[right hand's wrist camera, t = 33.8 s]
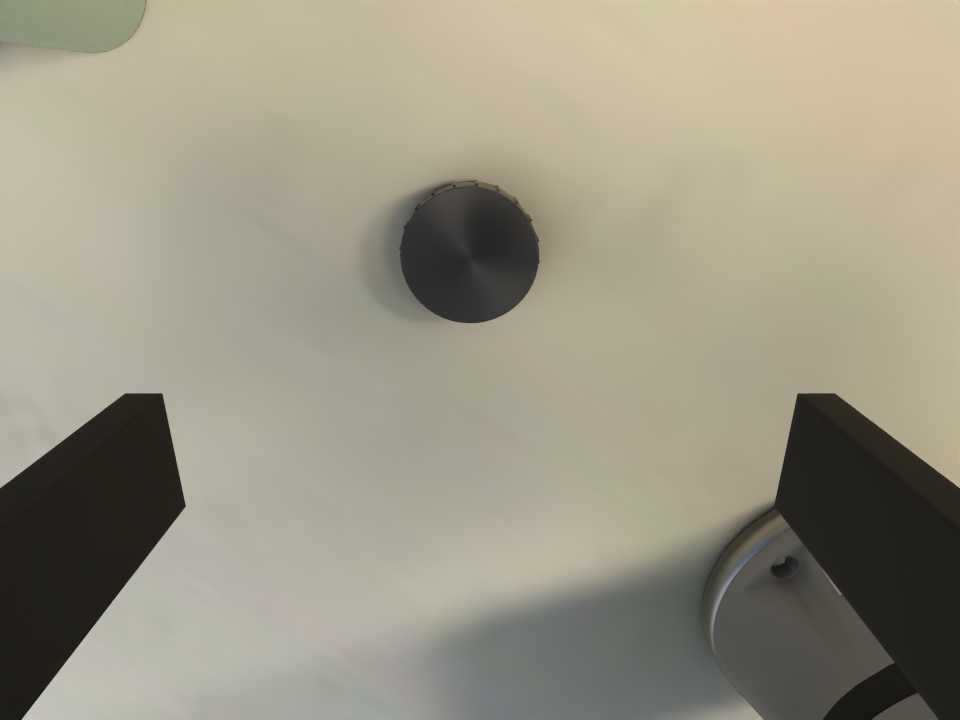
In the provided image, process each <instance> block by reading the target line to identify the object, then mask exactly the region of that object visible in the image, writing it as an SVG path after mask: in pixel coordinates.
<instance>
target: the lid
mask: <svg viewBox="0 0 960 720" xmlns="http://www.w3.org/2000/svg"><path fill="white" fill-rule="evenodd" d="M531 221H532V219H531V217H530V216H529V214H528V215H527V214H526V213H525V211H524V209H523V208H522V207H521V206H520V204H519V203H518V200H517V199H516V198H513V197H511V196H510V195H509V194H507V193H506V192H504V191H503V190H501V189H500V188H499V186H496V187H494V186H492V185H489V184H485V183H480V182H478V180H475V182H460V183H456V181H454V182H453V184H451V185H448V186H445V187H443V188H441V189H439V190H437V191H436V189H435V190H433V192H432V194H431V195H429V196H428V197H427V198H426V199H425V200H424V201H423V202H422V203H421V204H419V203H418V204H417V206H416V208H415V212H414V213H413V215H412V217H411V219H410V220H409V222H408V221H407V223H406V225H405V226H404V229H405V231H404V235H403V238H402V243H401V246H400V250H401V253H400V258H401V266H402V271H403V275H404V277H405V280H406V283H407V284H408V286H409V288H410V290H411V292H412V293H413V294H414V296H415V297H416V298H417V299H418V300H419V302H420V303H421V304H422V305H424V306H425V307H426V308H427V309H428V310H430V311H431V312H433V313H435V314H436V315H438V316H440V317H442V318H445V319H448V320H451V321H455V322H461V323H479V322H485V321H489V320H492V319H495V318H497V317H500V316H502V315H504V314H505V313H507V312H509V311H510V310H511V309H513V308H514V307H515V306H516V305H517V304H518V303H519V302H520V301H521V300H522V299H523V298H524V297H525V295H526V294H527V293H528V291H529V289H530V288H531V286H532V284H533V281H534V279H535V276H536V273H537V269H538V263H539V248H538V242H539V239H538V237H537V235H536V234H535V231H534V229H533V226H532V224H531Z"/></svg>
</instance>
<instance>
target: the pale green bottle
mask: <svg viewBox="0 0 960 720" xmlns="http://www.w3.org/2000/svg"><path fill="white" fill-rule="evenodd" d="M145 2H146V0H0V41H3V42H11V43H18V44H26V45H33V46H41V47H48V48H56V49H63V50H71V51H78V52H86V53H100V52H106V51H109V50H112V49H115V48H116V47H118V46H120V45H122V44H123V43H124V42H126V41H127V40H128V39H129V38H130V37H131V36H132V35H133V34H134V32H135V31H136V29H137V28H138V26H139V24H140V21H141V19H142V16H143V13H144V9H145Z"/></svg>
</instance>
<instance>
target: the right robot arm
mask: <svg viewBox="0 0 960 720" xmlns="http://www.w3.org/2000/svg"><path fill="white" fill-rule="evenodd" d="M185 507H186V505H185V501H184V496H183V491H182V486H181V481H180V477H179V472H178V467H177V462H176V457H175V452H174V448H173V443H172V438H171V433H170V428H169V423H168V419H167V414H166V409H165V404H164V399H163V395H162V394H124V395H123V396H121V397H120V398H119V399H117V400H116V401H115V402H113V403H112V404H111V405H109V406H108V407H107V408H105V409H104V410H103V411H102V412H100V413H99V414H98V415H96V416H95V417H94V418H92V419H91V420H90V421H88V422H87V423H86V424H84V425H83V426H82V427H80V428H79V429H78V430H77V431H75V432H74V433H73V434H71V435H70V436H69V437H67V438H66V439H65V440H63V441H62V442H61V443H59V444H58V445H57V446H55V447H54V448H53V449H51V450H50V451H49V452H48V453H46V454H45V455H44V456H42V457H41V458H40V459H38V460H37V461H36V462H34V463H33V464H32V465H30V466H29V467H28V468H26V469H25V470H24V471H23V472H21V473H20V474H19V475H17V476H16V477H15V478H13V479H12V480H11V481H9V482H8V483H7V484H5V485H4V486H3V487H1V488H0V720H22V718H23V717H24V716H25V714H26V713H27V712H28V710H29V709H30V708H31V707H32V705H33V704H34V703H35V701H36V700H37V699H38V697H39V696H40V695H41V694H42V692H43V691H44V690H45V688H46V687H47V686H48V684H49V683H50V682H51V681H52V679H53V678H54V677H55V675H56V674H57V673H58V671H59V670H60V669H61V668H62V666H63V665H64V664H65V662H66V661H67V660H68V658H69V657H70V656H71V655H72V653H73V652H74V651H75V649H76V648H77V647H78V646H79V644H80V643H81V642H82V640H83V639H84V638H85V636H86V635H87V634H88V633H89V631H90V630H91V629H92V627H93V626H94V625H95V623H96V622H97V621H98V620H99V618H100V617H101V616H102V614H103V613H104V612H105V610H106V609H107V608H108V607H109V605H110V604H111V603H112V601H113V600H114V599H115V597H116V596H117V595H118V594H119V592H120V591H121V590H122V588H123V587H124V586H125V584H126V583H127V582H128V581H129V579H130V578H131V577H132V575H133V574H134V573H135V571H136V570H137V569H138V568H139V566H140V565H141V564H142V562H143V561H144V560H145V559H146V557H147V556H148V555H149V553H150V552H151V551H152V549H153V548H154V547H155V546H156V544H157V543H158V542H159V540H160V539H161V538H162V536H163V535H164V534H165V533H166V531H167V530H168V529H169V527H170V526H171V525H172V523H173V522H174V521H175V520H176V518H177V517H178V516H179V514H180V513H181V512H182V510H183V509H184V508H185ZM774 507H775V509H774V510H772V511H770V512H769V513H767V514H766V515H764V516H762V517H761V518H760V519H758V520H757V521H756V522H754V523H753V524H751V525H750V526H749V527H748V528H747V529H746V530H744V531H743V532H742V533H741V534H740V535H739V536H738V537H737V538H736V539H735V540H734V541H733V542H732V543H731V544H730V546H729V547H728V548H727V549H726V550H725V552H724V553H723V554H722V556H721V557H720V559H719V560H718V562H717V563H716V565H715V567H714V569H713V571H712V572H711V574H710V577H709V579H708V582H707V584H706V588H705V591H704V595H703V602H702V620H703V626H704V630H705V634H706V636H707V639H708V641H709V644H710V646H711V648H712V651H713V653H714V655H715V657H716V660H717V662H718V664H719V666H720V668H721V670H722V672H723V673H724V675H725V676H726V677H727V679H728V680H729V681H730V682H731V684H732V685H733V686H734V687H735V688H736V690H737V691H738V692H739V693H740V694H741V695H742V696H743V697H744V698H745V699H746V700H747V701H748V702H749V704H750V705H751V706H752V707H753V708H754V709H755V710H756V712H757V713H758V714H759V715H760V716H761V717H762V718H763V719H764V720H960V488H959V487H957V486H956V485H955V484H953V483H952V482H951V481H949V480H948V479H947V478H945V477H944V476H943V475H941V474H940V473H939V472H937V471H936V470H935V469H934V468H932V467H931V466H930V465H928V464H927V463H926V462H924V461H923V460H922V459H920V458H919V457H918V456H916V455H915V454H914V453H912V452H911V451H910V450H908V449H907V448H906V447H905V446H903V445H902V444H901V443H899V442H898V441H897V440H895V439H894V438H893V437H891V436H890V435H889V434H887V433H886V432H885V431H883V430H882V429H881V428H880V427H878V426H877V425H876V424H874V423H873V422H872V421H870V420H869V419H868V418H866V417H865V416H864V415H862V414H861V413H860V412H858V411H857V410H856V409H855V408H853V407H852V406H851V405H849V404H848V403H847V402H845V401H844V400H843V399H841V398H840V397H839V396H837V395H836V394H798V395H797V399H796V404H795V409H794V414H793V419H792V423H791V428H790V433H789V438H788V443H787V448H786V452H785V457H784V462H783V467H782V472H781V477H780V481H779V486H778V491H777V496H776V501H775V505H774Z"/></svg>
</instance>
